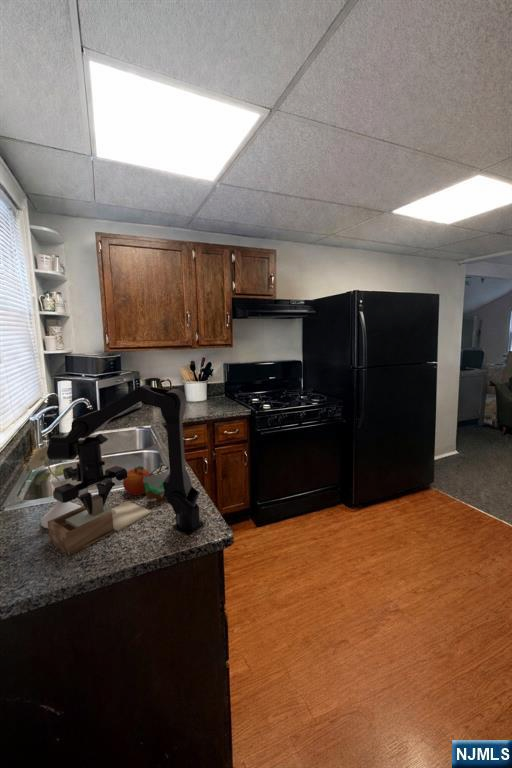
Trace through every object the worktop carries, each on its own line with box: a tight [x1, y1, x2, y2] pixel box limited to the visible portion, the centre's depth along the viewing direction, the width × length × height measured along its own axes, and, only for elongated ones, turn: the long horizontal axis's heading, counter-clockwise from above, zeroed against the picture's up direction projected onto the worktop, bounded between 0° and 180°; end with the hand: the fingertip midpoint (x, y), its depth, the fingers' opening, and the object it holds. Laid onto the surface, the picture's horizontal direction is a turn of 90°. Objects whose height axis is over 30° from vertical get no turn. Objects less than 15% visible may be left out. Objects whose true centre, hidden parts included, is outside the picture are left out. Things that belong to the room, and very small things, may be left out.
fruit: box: [122, 465, 151, 496], centre depth 114 cm, size 10×10×10 cm
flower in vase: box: [27, 444, 82, 529], centre depth 94 cm, size 13×11×25 cm
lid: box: [65, 494, 116, 528], centre depth 90 cm, size 8×10×5 cm
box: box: [47, 505, 115, 556], centre depth 88 cm, size 11×12×6 cm
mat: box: [111, 500, 153, 532], centre depth 98 cm, size 13×12×1 cm
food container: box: [143, 463, 170, 505], centre depth 109 cm, size 12×6×10 cm, turn 168°
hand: (95, 510), depth 91 cm, fingers closed on lid, 3 cm apart
